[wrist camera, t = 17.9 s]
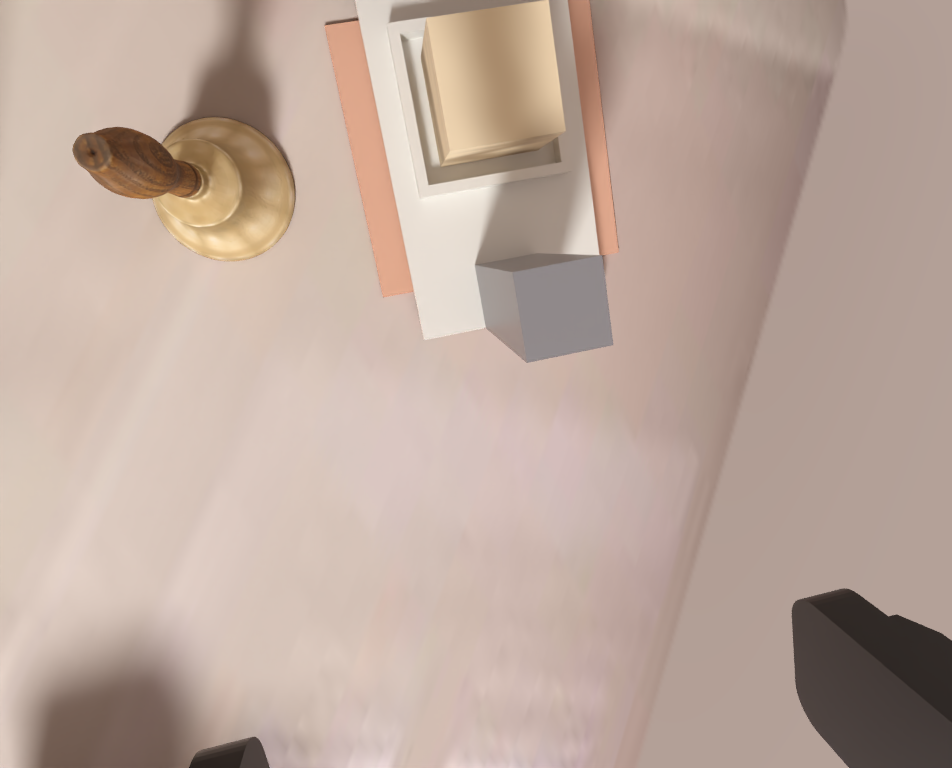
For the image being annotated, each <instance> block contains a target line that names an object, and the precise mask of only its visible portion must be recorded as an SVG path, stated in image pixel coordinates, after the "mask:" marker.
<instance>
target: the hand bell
mask: <svg viewBox="0 0 952 768" xmlns="http://www.w3.org/2000/svg"><path fill="white" fill-rule="evenodd" d="M73 154H74V157H75V159H76V161H77V162H78V164H79V165H80V166H81V167H83V168H84V169H86V170H87V171H88V172H89V173H90V174H91V176H92V177H93V178H94V179H95V180H96V181H97V182H98V183H99V184H101V185H102V186H104V187H105V188H106V189H108V190H110V191H112V192H114V193H116V194H119V195H122V196H125V197H130V198H139V199H148V198H152V199H153V203H154V206H155V209H156V211H157V213H158V216H159V217H160V219H161V221H162V223H163V224H164V226H165V227H166V228H167V230H168V231H169V232H170V233H171V234H172V235H173V236H174V237H175V238H176V239H177V240H178V241H179V242H180V243H181V244H183V245H184V246H185V247H187V248H188V249H190V250H192V251H193V252H195V253H197V254H199V255H202V256H204V257H207V258H210V259H214V260H220V261H240V260H246V259H250V258H253V257H255V256H258V255H260V254H262V253H264V252H265V251H267V250H268V249H270V248H271V247H272V246H273V245H275V244H276V243H277V242H278V241H279V239H280V238H281V237H282V236H283V234H284V233H285V231H286V230H287V228H288V226H289V223H290V221H291V218H292V215H293V211H294V204H295V190H294V183H293V178H292V175H291V172H290V170H289V167H288V165H287V163H286V161H285V159H284V158H283V156H282V154H281V153H280V151H279V150H278V149H277V147H276V146H275V145H274V144H273V143H272V142H271V141H270V140H269V139H268V138H267V137H266V136H265V135H263V134H262V133H261V132H259V131H258V130H256V129H255V128H253V127H251V126H249V125H247V124H245V123H242V122H239V121H237V120H233V119H228V118H221V117H210V118H202V119H197V120H194V121H191V122H189V123H186V124H184V125H182V126H180V127H179V128H178V129H176V130H175V131H173V132H172V133H171V134H170V135H169V136H168V137H167V138H166V139H165V141H164V142H163V143H162V145H161V144H160V143H159V142H157V141H156V140H155V139H153V138H152V137H150V136H148V135H146V134H143V133H141V132H138V131H136V130H133V129H129V128H123V127H112V128H105V129H102V130H98V131H96V132H94V133H86V134H82V135H80V136H79V137H78V138H77V139H76V141H75V143H74V145H73Z"/></svg>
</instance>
